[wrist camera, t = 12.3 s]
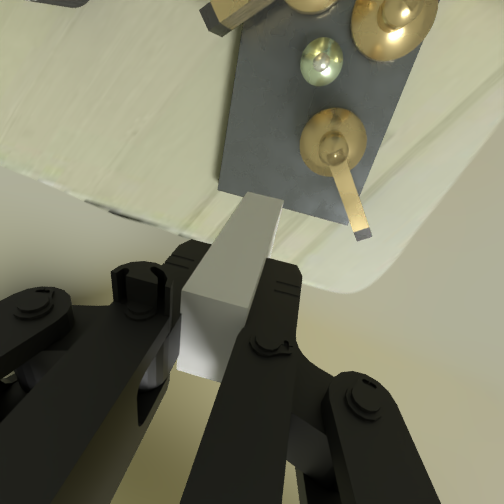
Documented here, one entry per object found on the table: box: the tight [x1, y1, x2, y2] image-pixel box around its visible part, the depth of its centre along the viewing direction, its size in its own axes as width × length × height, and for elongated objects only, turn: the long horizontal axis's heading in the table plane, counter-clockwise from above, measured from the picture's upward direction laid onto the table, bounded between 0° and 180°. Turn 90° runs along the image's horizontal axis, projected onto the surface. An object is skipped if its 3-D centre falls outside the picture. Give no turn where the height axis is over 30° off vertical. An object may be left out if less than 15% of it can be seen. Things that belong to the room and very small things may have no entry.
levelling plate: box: [218, 0, 440, 226], centre depth 28 cm, size 24×15×2 cm, turn 168°
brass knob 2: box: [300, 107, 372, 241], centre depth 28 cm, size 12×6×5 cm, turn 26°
